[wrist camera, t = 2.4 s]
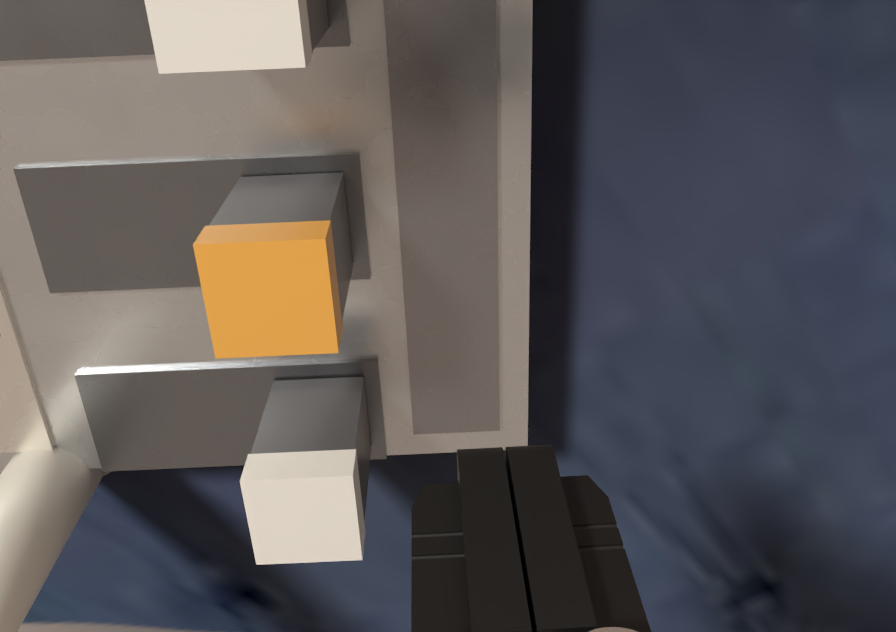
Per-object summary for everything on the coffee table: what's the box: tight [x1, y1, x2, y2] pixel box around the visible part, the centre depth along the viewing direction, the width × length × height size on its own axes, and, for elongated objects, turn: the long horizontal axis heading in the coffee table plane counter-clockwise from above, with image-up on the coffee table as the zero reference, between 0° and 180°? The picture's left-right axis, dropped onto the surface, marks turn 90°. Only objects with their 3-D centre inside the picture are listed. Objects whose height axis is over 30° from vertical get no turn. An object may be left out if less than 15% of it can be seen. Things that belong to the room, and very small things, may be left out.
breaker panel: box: [0, 0, 533, 473], centre depth 26 cm, size 24×18×3 cm
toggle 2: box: [193, 173, 353, 359], centre depth 22 cm, size 3×3×5 cm
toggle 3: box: [240, 377, 371, 565], centre depth 25 cm, size 3×3×5 cm
